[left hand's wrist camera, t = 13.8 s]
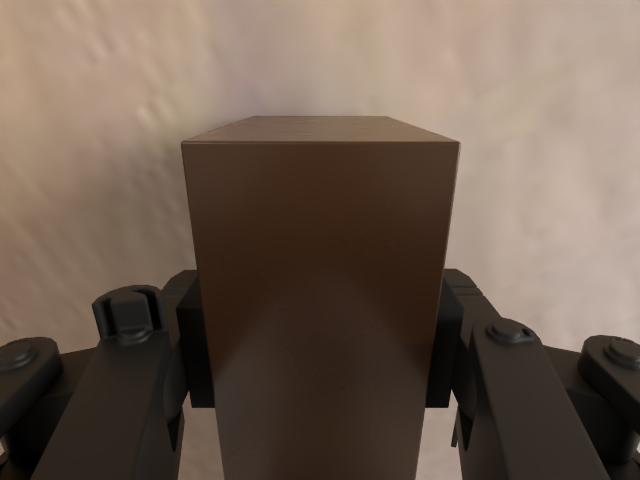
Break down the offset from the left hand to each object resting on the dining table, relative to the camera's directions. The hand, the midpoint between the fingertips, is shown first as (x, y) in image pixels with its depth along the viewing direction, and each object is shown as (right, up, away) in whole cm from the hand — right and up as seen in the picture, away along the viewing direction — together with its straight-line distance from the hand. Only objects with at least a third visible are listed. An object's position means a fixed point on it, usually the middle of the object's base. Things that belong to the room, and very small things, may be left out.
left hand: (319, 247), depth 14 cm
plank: (0, -10, +4) cm, 10 cm away
